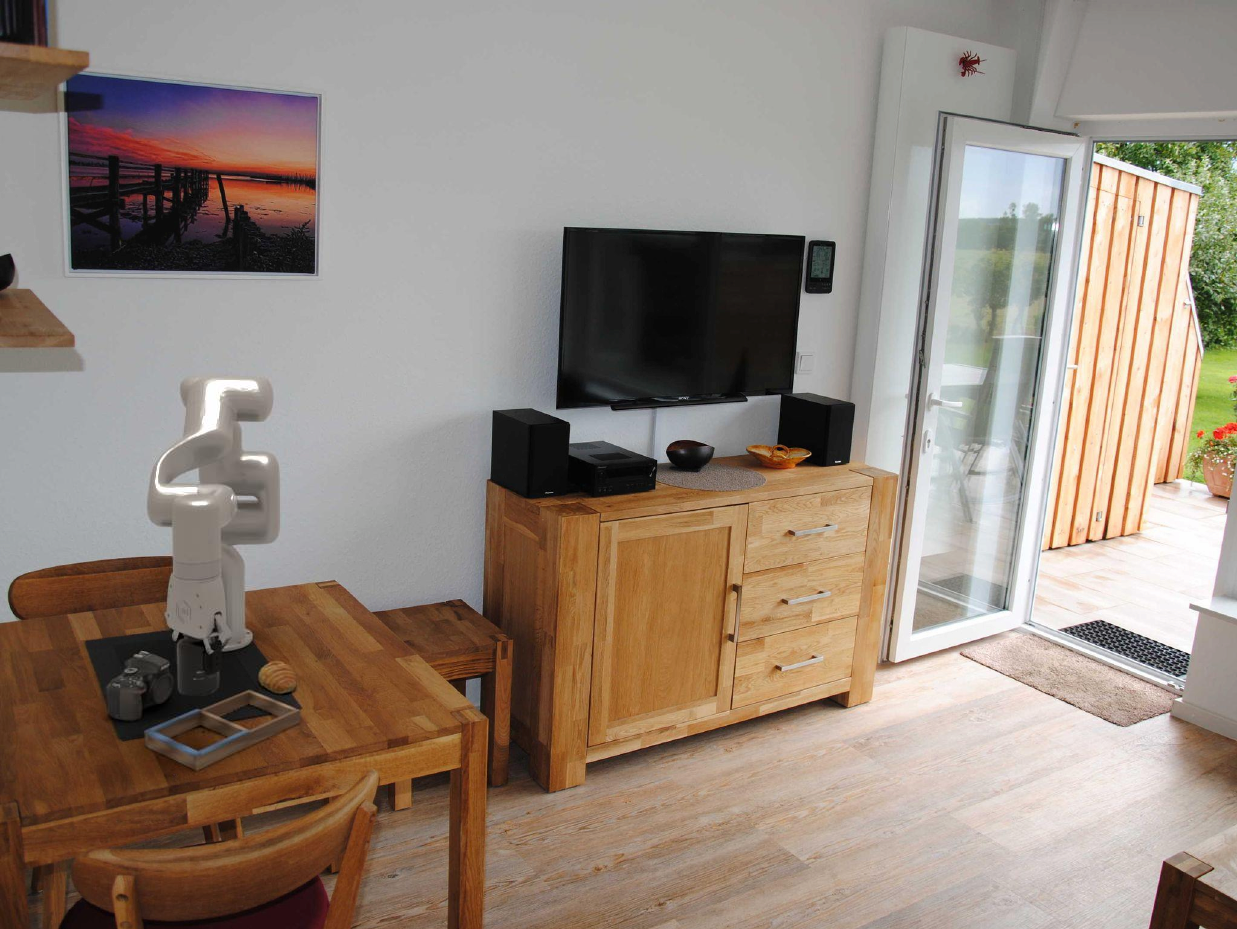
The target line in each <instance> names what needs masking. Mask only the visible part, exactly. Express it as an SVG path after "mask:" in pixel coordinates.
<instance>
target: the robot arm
mask: <svg viewBox="0 0 1237 929" xmlns="http://www.w3.org/2000/svg"><path fill="white" fill-rule="evenodd" d="M179 394H180V399H181V401H182V404H183V405H184V408H185V409H186V410H185V416H184V417H185V418H184V427H183V435H182V436H183V437H182V438H181V439H179V440H178V441H176V442H175V443H174V444H173V443H172V445H171V446H169V447H168V448H167V450H165V452H163V453H162V454H161V455H160V456H159V458H157V461H156V462H155V464H154V465H153V467H152V470H151V473H150V477H149V484H148V491H147V498H146V500H147V503H146V510H147V515H148V519H149V520H150V522H151V523H152V524H153V525H155V526H158V527H162V528H171V530H172V537H171V538H172V539H171V540H172V572H171V574H170V576H169V581H168V587H167V598H166V611H165V612H164V617H165V619H166V624H167V626H168V627H169V629H170V631H171V632H172V635H171V637H172V638H171V639H172V640H173V641H174V663H176V664H177V644H178V642H179V640H180V639H181V638H182V637H184V635H183V634H186V635H188V636H191V637H194V638H196V639H200V640H203V641H204V644H205V647H206V650H207V652H206V653H204V674H205V675H211V674H213V673H216V672H218V671H219V672H220V671H222V669H223V652H231V651H235V650H239V649H242V648H245V647H246V646H248V645H250V644H251V642H252V641H253V632H252V631H251V630H250V629H248V628H246V568H245V566H246V565H245V561H244V559H243V557H242V555H241V554H240V551H238V550H237V548H235V547H234V546H238V545H241V546H242V545H245V546H247V545H252V546H253V545H257V546H258V545H269V544H272V543H274V542H276V540H277V539H278V538H279V534H280V530H281V529H280V528H281V477H280V466H279V462H278V459H277V457H276V455H274V454H273V453H271V452H269V451H264V450H244V449H243V446H242V444H243V440H242V438H243V437H242V436H243V435H242V432H243V431H242V427H241V424H240V423H239V422H242V423H245V422H247V423H250V422H251V423H262V422H265V421H266V420H267V419H268V418H269V416H270V415H271V413H272V410H273V406H274V391H273V386H272V383H271V382H270V380H269V379H268V378H266V377H262V376H245V375H244V376H242V375H241V376H240V375H223V374H219V375H218V374H198V375H197V374H194V375H190V376H187V377H185V378H183V379H182V381H181V382H180V386H179ZM196 469H198V481H199V483H172V482H173V481H174V480H175V479H176V478H178V477H180V476H181V475H183V474H186V473H187V472H191V471H194V470H196ZM237 496H238V497H254V498H256V499H238V497H237ZM212 630H213V632H214V633H211V632H212ZM211 637H215V642H214V643H213V644H212V643H211V640H210V638H211Z"/></svg>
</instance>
